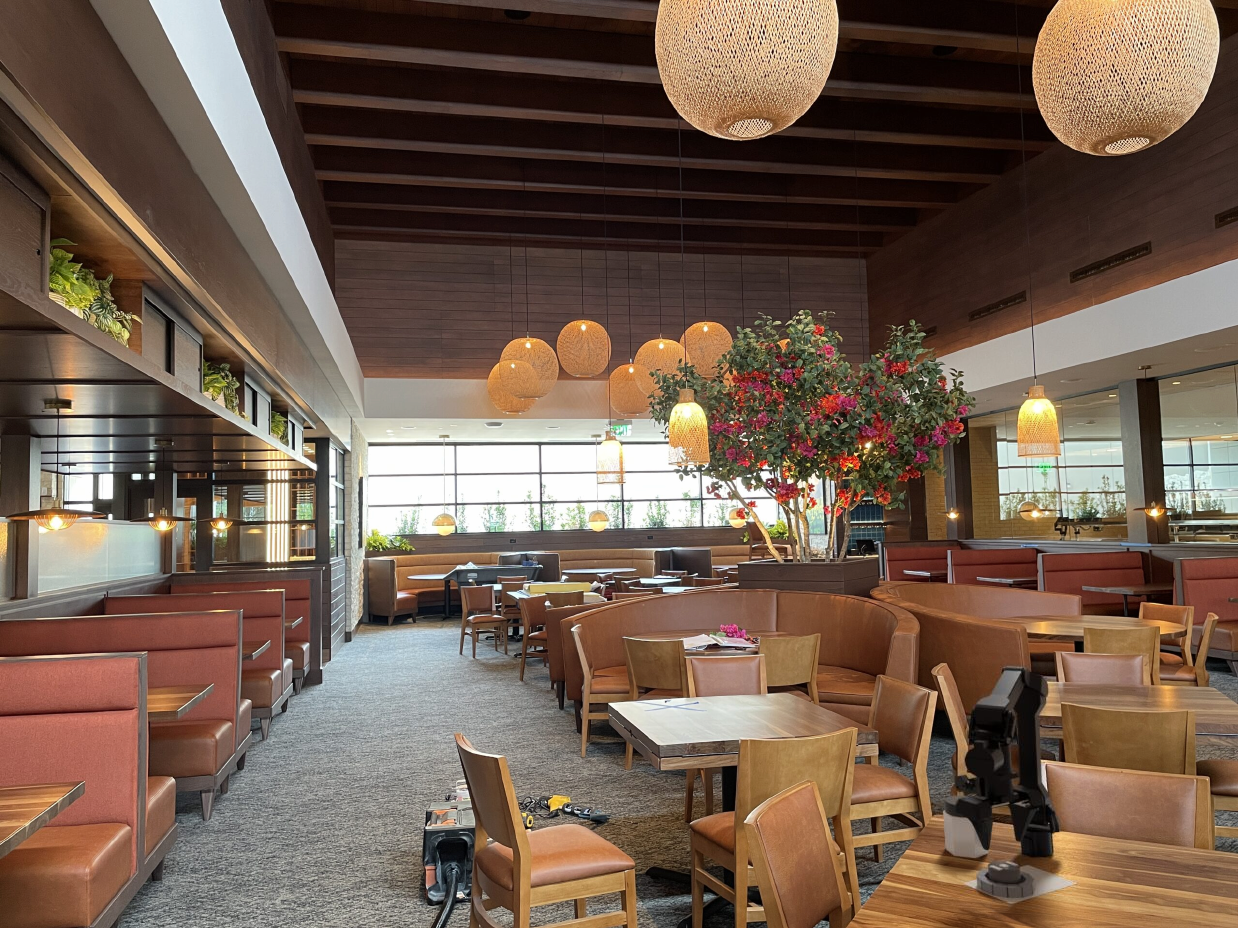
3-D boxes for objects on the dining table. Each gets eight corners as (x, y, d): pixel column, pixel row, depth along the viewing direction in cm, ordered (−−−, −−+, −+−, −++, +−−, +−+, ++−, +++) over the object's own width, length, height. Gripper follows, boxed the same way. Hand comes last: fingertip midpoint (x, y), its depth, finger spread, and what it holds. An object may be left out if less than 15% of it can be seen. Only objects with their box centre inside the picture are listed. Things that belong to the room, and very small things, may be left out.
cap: (1004, 879, 184) (1002, 858, 185) (1028, 888, 179) (1026, 866, 179) (982, 885, 182) (981, 863, 182) (1007, 894, 176) (1005, 872, 177)
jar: (970, 864, 196) (966, 808, 197) (939, 854, 202) (935, 800, 203) (995, 855, 200) (991, 800, 201) (963, 845, 207) (959, 792, 208)
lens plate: (1028, 869, 192) (1027, 855, 192) (1078, 888, 181) (1077, 872, 181) (963, 888, 183) (962, 872, 184) (1011, 908, 172) (1010, 892, 173)
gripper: (997, 752, 193) (1002, 826, 192) (932, 764, 185) (937, 842, 184) (1041, 762, 183) (1047, 841, 182) (975, 776, 175) (981, 858, 174)
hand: (1002, 845), depth 181 cm, fingers open, 9 cm apart
